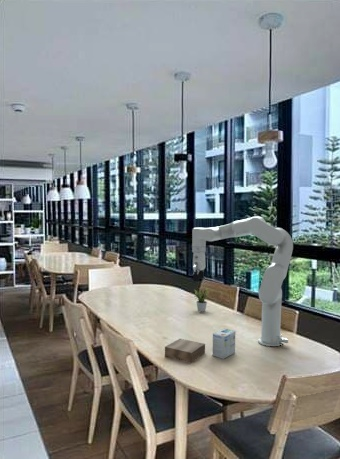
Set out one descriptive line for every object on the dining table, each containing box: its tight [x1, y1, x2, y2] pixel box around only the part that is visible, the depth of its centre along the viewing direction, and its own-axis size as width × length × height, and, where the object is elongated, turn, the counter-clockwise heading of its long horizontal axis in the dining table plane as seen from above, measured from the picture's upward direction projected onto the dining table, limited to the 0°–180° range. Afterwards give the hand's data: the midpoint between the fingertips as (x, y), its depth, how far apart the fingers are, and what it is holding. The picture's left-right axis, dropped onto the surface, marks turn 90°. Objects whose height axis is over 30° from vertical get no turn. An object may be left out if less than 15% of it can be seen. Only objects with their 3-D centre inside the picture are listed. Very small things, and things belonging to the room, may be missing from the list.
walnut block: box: [164, 338, 206, 364], centre depth 182 cm, size 14×14×5 cm
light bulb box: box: [212, 328, 236, 359], centre depth 183 cm, size 11×7×11 cm, turn 141°
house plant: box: [193, 287, 213, 312], centre depth 262 cm, size 14×14×16 cm
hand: (198, 279), depth 216 cm, fingers open, 9 cm apart
